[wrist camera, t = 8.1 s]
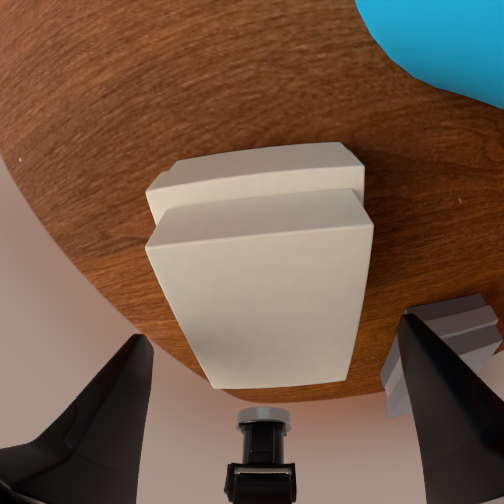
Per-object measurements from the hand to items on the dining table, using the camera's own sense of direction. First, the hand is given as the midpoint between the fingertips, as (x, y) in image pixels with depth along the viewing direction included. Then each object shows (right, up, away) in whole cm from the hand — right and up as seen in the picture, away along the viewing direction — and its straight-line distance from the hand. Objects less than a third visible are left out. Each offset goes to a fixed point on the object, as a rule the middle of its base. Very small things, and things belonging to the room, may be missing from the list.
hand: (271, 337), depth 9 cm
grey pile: (+14, -4, +10) cm, 17 cm away
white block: (0, +1, +2) cm, 2 cm away
